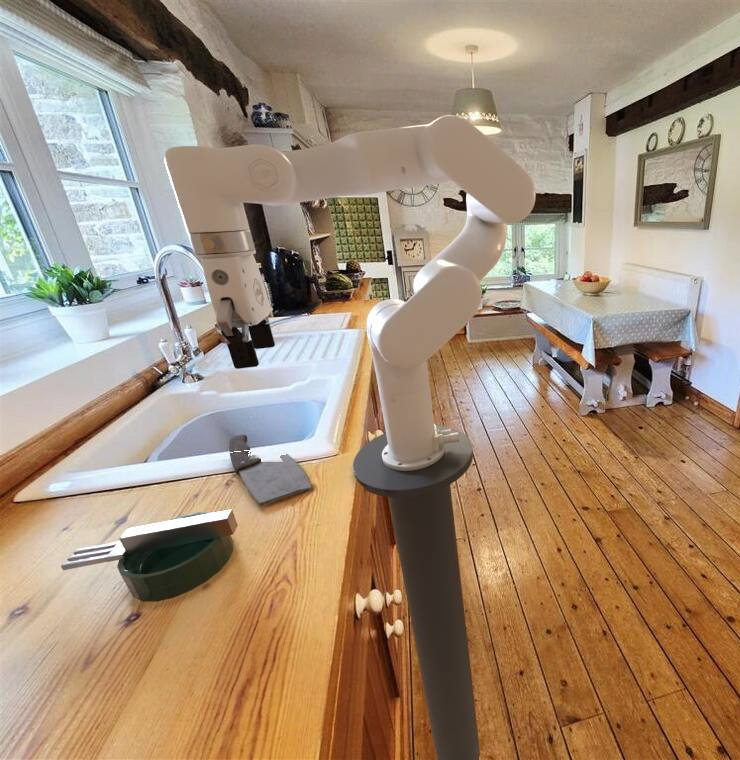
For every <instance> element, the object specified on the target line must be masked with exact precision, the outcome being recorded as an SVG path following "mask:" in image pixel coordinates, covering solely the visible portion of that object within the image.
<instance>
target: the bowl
mask: <svg viewBox="0 0 740 760" xmlns="http://www.w3.org/2000/svg"><path fill="white" fill-rule="evenodd" d="M210 513H213V512H211V511H210V512H209V511H201V512H200V511H199V512H193V513H187V514H184V515H181V516H178V517H175V518H171V519H169V520H168V521H172V520H177V519H183V518H188V517H194V516H199V515H205V514H210ZM234 546H235V545H234V540H233V537H232V535H229V536H224V537H219V538H213V539H208V540H203V541H198V542H193V543H188V544H183V545H178V546H173V547H168V548H162V549H157V550H152V551H147V552H142V553H137V554H132V555H127V556H126V558H125V559H121V560H118V562H117V566H116V568H117V570H118V573H119V574H120V576H121V578H122V580H123V582H124V583H125V585H126V587H127V589H128V590H129V592H130V594H131V596H132V597H133V598H134V599H136V600H138V601H140V602H144V603H145V602H147V603H149V602H150V603H151V602H152V603H157V602H161V601H166V600H170V599H175V598H177V597H179V596H182V595H184V594H187V593H189V592H191V591H193V590H195V589H197V588H198V587H200V586H202V585H204V584H205V583H207V582H208V581H209V580H210V579H212V578H213V577H215V576H216V575H217V574H218V573H220V571H222V570H223V568H224V567H225V566H226V565H227V563H228V562H229V561H230V559H231V557H232V555H233V552H234V550H235V548H234Z"/></svg>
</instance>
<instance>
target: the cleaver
mask: <svg viewBox="0 0 740 760" xmlns="http://www.w3.org/2000/svg"><path fill="white" fill-rule="evenodd" d="M247 442H248V436H247V435H246V434H240V435H235V436H232V437H231V438H230V439H229V443H228V451H229V457H230V462H231V466H232V468H233V470H234V472H235V474H236V475H237V476H240V479H241V480H242V482H243V485H244V486H245V489H246V490H247V492H248V494H249V495H250V496H251V498H252V499H253V501H254V502H256V503H257V504H258V506H259V507H264V506H266V505H269V504H273V503H275V502H278V501H281V500H284V499H287V498H291V497H293V496H296V495H299V494H301V493H304V492H305V491H308V490H309V489H311V488H312V484H311V482H310V480H309V477H308V476H307V474H306V473H305V471H304V470H303V468H302V467H301V465H300V464H299V463H298V462H297V460H295V459H294V458H293V457H292V456H291V455H289V454H288V453H287V454H286V455H281V456H280V458H281V459H282V461H283V462H261V458H260V457H251V454H252V451H251V452H250V455H249V457H248V454H249V453H248V452H249V451H244V450H251V448H250V446H249V445H248V444H247ZM234 451H241V452H234ZM230 452H233V453H230Z"/></svg>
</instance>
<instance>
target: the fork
mask: <svg viewBox="0 0 740 760" xmlns="http://www.w3.org/2000/svg"><path fill="white" fill-rule="evenodd" d="M171 520H172V519H171ZM237 528H238V522H237V519H236V516H235V513H234V511H233V509H227V510H221V511H216V512H212V513H210V514H205V515H199V516H194V517H188V518H183V519H177V520H172V521H169V520H167V521H161V522H156V523H151V524H146V525H139V526H135V527H134V526H133V527H129V528H126V530H125V531H124V532H123V533H122V535H120V537H119V538H118V541H114V542H109V543H103V544H98V545H92V546H87V547H83V548H77V549H75V550H74V551H73V555H69V557H68V558H67V559H66V560H67V562H63V563H62V564H61V565H60V568H61V569H62V571H67V570H68V571H69V570H72V569H78V568H84V567H89V566H93V565H97V564H102V563H103V564H104V563H111V562H115V561H119V560H121V559H125V558H126V556H127V555H132V554H137V553H142V552H147V551H152V550H157V549H162V548H168V547H173V546H178V545H183V544H188V543H193V542H198V541H203V540H208V539H213V538H219V537H224V536H229V535H231V536H233V535H234V534H235V532H236V530H237Z"/></svg>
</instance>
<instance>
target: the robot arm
mask: <svg viewBox="0 0 740 760" xmlns="http://www.w3.org/2000/svg"><path fill="white" fill-rule="evenodd" d="M163 159H164V164H165V167H166V170H167V174H168V176H169V180H170V184H171V187H172V189H173V192H174V195H175V199H176V201H177V204H178V208H179V211H180V214H181V217H182V220H183V223H184V226H185V230H186V233H187V235H188V239H189V242H190V244H191V248H192V251H193V254H194V256H195V259H200V261H201V265H202V269H203V275H204V279H205V283H206V286H207V290H208V295H209V299H210V302H211V305H212V307H213V311H214V313H215V317H216V319H215V321H216V323H217V325H218V327H219V328H220V334H221V335H222V336H223V337H224V338H223V339H224V343H225V344H226V346H227V349H228V352H229V355H230V359H231V361H232V365H233V367H234V369H236V370H241V369H248V368H255V367H256V368H257V367H258V366H259V365H260V362H259V359H258V354H257V352H256V350H260V349H270V348H271V349H272V348H274V347H275V346H276V343H275V339H274V336H273V331H272V328H271V324H270V319H269V317H268V316H269V315H270V314H271V312H272V305H271V302H270V299H269V296H268V292H267V290H266V286H265V283H264V280H263V277H262V274H261V271H260V268H259V265H258V263H257V261H256V259H255V254H257V251H256V248H255V243H254V239H253V236H252V232H251V229H250V224H249V221H248V217H247V214H246V210H245V206H244V203H247V204H259V205H265V206H271V207H281V206H286V205H293V204H299V203H306V202H312V201H319V200H325V199H333V198H337V197H350V196H351V197H352V196H353V197H354V196H355V197H357V196H358V197H359V196H366V195H367V196H368V195H374V194H380V193H386V192H392V191H398V190H405V189H411V188H419V187H425V186H431V185H437V184H443V183H448V182H453V183H454V184H455V185H456V186H458V188H459V189H461V190H462V191H463V192H464V193H466V195H465V196H466V197H465V203H466V221H465V224H464V226H463V228H462V230H461V232H460V233H458V235H457V236H456V237H455V238H454V239H453V240H452V241H451V242H450V243H449V244H448V245H447V246H445V248H443V249H442V250H441V251H440V252H439V253H438V254H436V256H434V257H433V258H432V259H431V260H430V261H428V263H426V264H425V265H424V266H422V268H420V269H419V270H418V272H417V273H416V275H415V277H414V279H413V282H412V283H413V284H412V289H413V295H411V296H410V298H408V299H407V300H406V301H404V300H401V299H396V298H388V299H384V300H381V301H379V302H378V303H376V304H375V305H373V307H372V308H371V310H370V312H369V313H368V316H367V319H366V325H365V326H366V335H367V340H368V344H369V345H368V346H369V349H370V353H371V357H372V362H373V367H374V371H375V377H376V384H377V388H378V395H379V401H380V405H381V406H380V407H381V411H382V417H383V423H384V428H385V433H386V435H387V441H388V445H387V446H386V447H385V448H384V450H383V452H382V459H383V462H384V464H385V465H386V466H388V467H389V468H392V469H395V470H400V471H412V470H418V469H422V468H425V467H428V466H430V465H432V464H434V463H435V462H437V461H438V460H439V459H440V458H441V457H442V456H443V454H444V452H445V446H444V444H447V443H455V442H459V435H458V433H452V434H451V429H448V430H444V431H439V430H436V425H437V424H435V418H434V410H433V403H432V395H431V387H430V386H431V385H430V375H429V369H428V363H427V361H428V360H429V359H430V358H431V357H433V356H435V354H436V353H438V352H439V351H440V350H441V349H442V348H443V347H444V346H445V345H447V344H448V342H449V341H450V340H451V339H453V338H454V337H455V336H456V335H457V334H458V333H459V332H460V331H461V330H462V329H463V328H464V327H465V326H466V325H467V324H468V323H469V322H470V321H471V320H473V318H474V316H475V315H476V313H477V312H478V310H479V308H480V305H481V303H482V297H483V289H482V283H481V281H482V280H483V279H484V278H485V277H486V276H487V275H488V274H489V273H490V272H491V271H492V269H493V268H494V267H495V266H496V265H497V264H498V262H499V261H500V259H501V258H502V256H503V253H504V251H505V246H506V243H507V233H508V224H510V225H511V224H516V223H519V222H521V221H523V220H524V219H526V218H527V217H528V216H530V214H531V212H532V211H533V209H534V207H535V203H536V187H535V184H534V181H533V180H532V177H531V176H530V174H529V173H528V172H527V171H526V170H525V169H524V168H523V167H522V166H521V165H520V164H519V163H518V162H517V161H516V160H515V159H513V158H512V157H511V155H510V156H509V154H507V153H506V152H505V151H504V150H502V148H500V147H499V146H498V145H497V144H496V143H495V142H494V141H492V139H490V138H489V137H488V136H486V135H485V134H484V133H483V132H482V131H481V130H479V128H477V127H476V126H475V125H473V124H472V123H471V122H470V121H467V120H465V119H464V118H463V117H460V116H457V115H455V114H454V115H453V114H445V115H442V116H440V117H438V118H436V119H435V120H433V121H432V122H430V123H428V124H422V125H421V124H420V125H412V126H411V125H410V126H404V127H403V126H402V127H395V128H394V127H393V128H384V129H383V128H382V129H374V130H362V131H361V130H360V131H357V132H353V133H350V134H347V135H345V136H343V137H340V138H339V139H337V140H334V141H332V142H329V143H326V144H323V145H319V146H318V145H317V146H315V147H314V146H313V147H307V148H302V149H301V148H300V149H294V150H293V149H292V150H285V151H279V150H278V149H276V148H274V147H272V146H269V145H265V144H261V143H260V144H259V143H255V144H254V143H253V144H252V143H251V144H244V145H237V146H236V145H235V146H230V147H229V146H228V147H218V148H217V147H210V146H202V145H177V146H173V147H169V148H168V149H166V150H165V152H164V154H163ZM240 329H241V330H240Z"/></svg>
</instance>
